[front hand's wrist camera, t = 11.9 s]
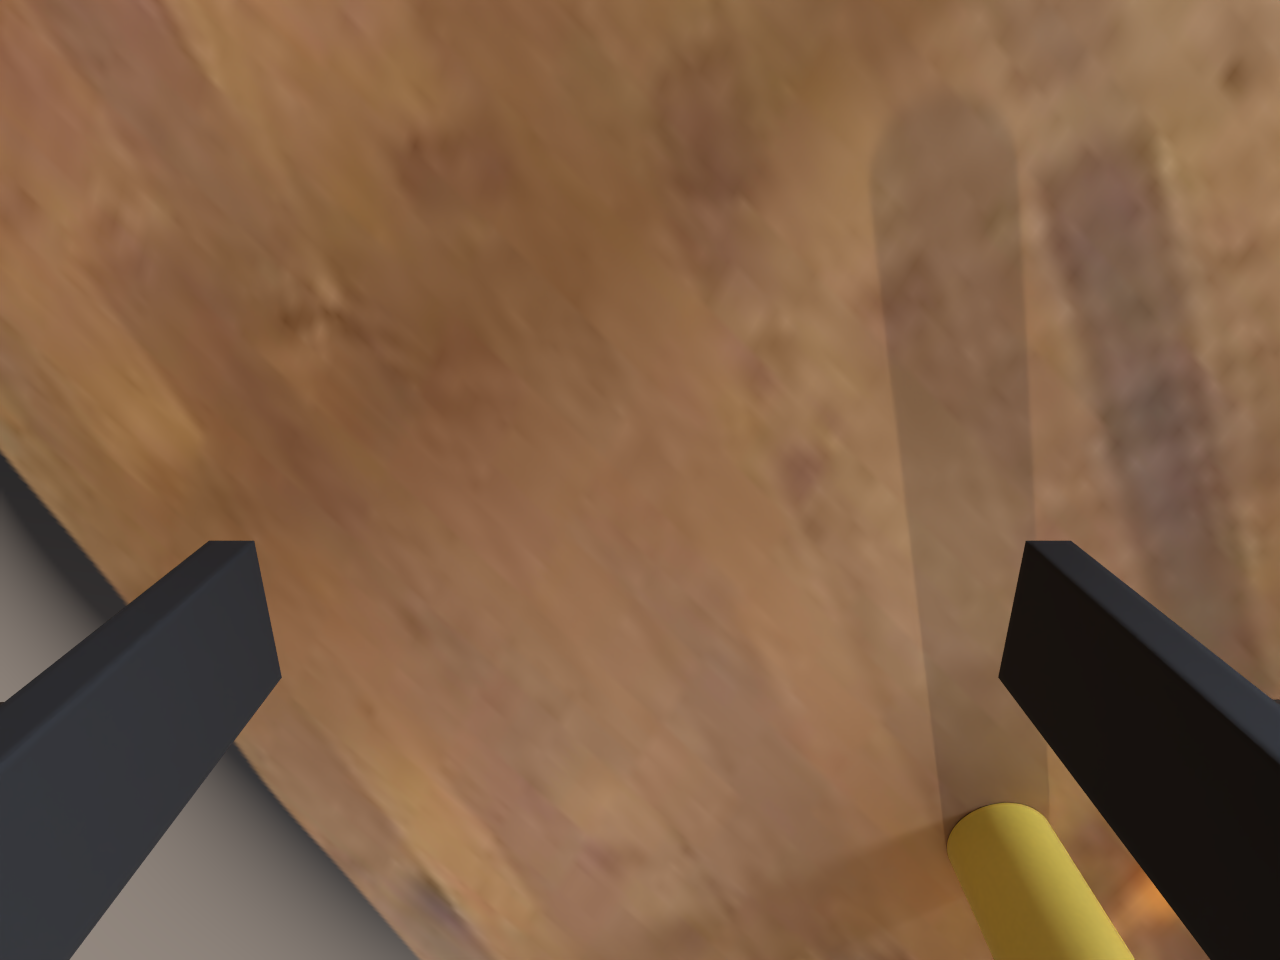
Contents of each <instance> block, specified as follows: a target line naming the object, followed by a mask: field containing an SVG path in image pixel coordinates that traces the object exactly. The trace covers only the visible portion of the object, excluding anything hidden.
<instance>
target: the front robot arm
mask: <svg viewBox="0 0 1280 960" xmlns="http://www.w3.org/2000/svg"><path fill="white" fill-rule="evenodd" d="M281 678H282V677H281V672H280V667H279V662H278V657H277V652H276V647H275V642H274V637H273V632H272V627H271V622H270V617H269V612H268V607H267V602H266V597H265V592H264V587H263V582H262V577H261V572H260V567H259V563H258V558H257V553H256V548H255V543H254V541H208V542H207V543H206V544H204V545H203V546H202V547H201V548H199V549H198V550H197V551H196V552H194V553H193V554H192V555H191V556H189V557H188V558H187V559H185V560H184V561H183V562H182V563H180V564H179V565H178V566H177V567H175V568H174V569H173V570H171V571H170V572H169V573H168V574H166V575H165V576H164V577H163V578H161V579H160V580H159V581H158V582H156V583H155V584H154V585H152V586H151V587H150V588H149V589H147V590H146V591H145V592H144V593H142V594H141V595H140V596H139V597H137V598H136V599H135V600H133V601H132V602H131V603H130V604H128V605H127V606H126V607H125V608H123V609H122V610H121V611H120V612H118V613H117V614H116V615H114V616H113V617H112V618H111V619H109V620H108V621H107V622H106V623H104V624H103V625H102V626H101V627H99V628H98V629H97V630H95V631H94V632H93V633H92V634H90V635H89V636H88V637H87V638H85V639H84V640H83V641H82V642H80V643H79V644H78V645H76V646H75V647H74V648H73V649H71V650H70V651H69V652H68V653H66V654H65V655H64V656H62V657H61V658H60V659H59V660H57V661H56V662H55V663H54V664H52V665H51V666H50V667H49V668H47V669H46V670H45V671H43V672H42V673H41V674H40V675H38V676H37V677H36V678H35V679H33V680H32V681H31V682H30V683H28V684H27V685H26V686H24V687H23V688H22V689H21V690H19V691H18V692H17V693H16V694H14V695H13V696H12V697H11V698H9V699H8V700H7V701H5V702H0V960H70V958H71V957H72V956H73V954H74V953H75V951H76V950H77V949H78V948H79V946H80V945H81V944H82V942H83V941H84V939H85V938H86V937H87V936H88V934H89V933H90V932H91V930H92V929H93V928H94V926H95V925H96V924H97V922H98V921H99V920H100V918H101V917H102V915H103V914H104V913H105V912H106V910H107V909H108V908H109V906H110V905H111V904H112V902H113V901H114V900H115V898H116V897H117V896H118V894H119V893H120V892H121V890H122V889H123V888H124V886H125V885H126V884H127V882H128V881H129V880H130V878H131V877H132V876H133V874H134V873H135V872H136V870H137V869H138V868H139V866H140V865H141V864H142V862H143V861H144V860H145V858H146V857H147V856H148V854H149V853H150V852H151V850H152V849H153V848H154V846H155V845H156V844H157V842H158V841H159V840H160V839H161V837H162V836H163V834H164V833H165V832H166V831H167V829H168V828H169V827H170V825H171V824H172V823H173V821H174V820H175V818H176V817H177V816H178V815H179V813H180V812H181V811H182V809H183V808H184V807H185V805H186V804H187V803H188V801H189V800H190V799H191V797H192V796H193V795H194V793H195V792H196V791H197V789H198V788H199V787H200V785H201V784H202V783H203V781H204V780H205V779H206V777H207V776H208V775H209V773H210V772H211V771H212V769H213V768H214V767H215V765H216V764H217V763H218V761H219V760H220V759H221V757H222V756H223V755H224V753H225V752H226V751H227V749H228V748H229V747H230V745H231V744H232V743H233V741H234V740H235V739H236V737H237V736H238V735H239V733H240V732H241V731H242V729H243V728H244V727H245V725H246V724H247V723H248V721H249V720H250V719H251V718H252V716H253V715H254V714H255V712H256V711H257V710H258V708H259V707H260V706H261V704H262V703H263V702H264V700H265V699H266V698H267V696H268V695H269V694H270V692H271V691H272V690H273V688H274V687H275V686H276V684H277V683H278V682H279V680H280V679H281ZM998 678H999V679H1000V680H1001V682H1002V683H1003V684H1004V686H1005V687H1006V688H1007V690H1008V691H1009V692H1010V694H1011V695H1012V696H1013V698H1014V699H1015V700H1016V702H1017V703H1018V704H1019V706H1020V707H1021V708H1022V710H1023V711H1024V712H1025V714H1026V715H1027V716H1028V718H1029V719H1030V720H1031V721H1032V723H1033V724H1034V725H1035V727H1036V728H1037V729H1038V731H1039V732H1040V733H1041V735H1042V736H1043V737H1044V739H1045V740H1046V741H1047V743H1048V744H1049V745H1050V747H1051V748H1052V749H1053V751H1054V752H1055V753H1056V755H1057V756H1058V757H1059V759H1060V760H1061V761H1062V763H1063V764H1064V765H1065V767H1066V768H1067V769H1068V771H1069V772H1070V773H1071V775H1072V776H1073V777H1074V779H1075V780H1076V781H1077V783H1078V784H1079V785H1080V787H1081V788H1082V789H1083V791H1084V792H1085V793H1086V795H1087V796H1088V797H1089V799H1090V800H1091V801H1092V803H1093V804H1094V805H1095V807H1096V808H1097V809H1098V811H1099V812H1100V813H1101V815H1102V816H1103V817H1104V819H1105V820H1106V821H1107V823H1108V824H1109V825H1110V827H1111V828H1112V829H1113V831H1114V832H1115V833H1116V835H1117V836H1118V837H1119V839H1120V840H1121V841H1122V843H1123V844H1124V845H1125V846H1126V848H1127V849H1128V850H1129V852H1130V853H1131V854H1132V856H1133V857H1134V858H1135V860H1136V861H1137V862H1138V864H1139V865H1140V866H1141V868H1142V869H1143V870H1144V872H1145V873H1146V874H1147V876H1148V877H1149V878H1150V880H1151V881H1152V882H1153V884H1154V885H1155V886H1156V888H1157V889H1158V890H1159V892H1160V893H1161V894H1162V896H1163V897H1164V898H1165V900H1166V901H1167V902H1168V904H1169V905H1170V906H1171V908H1172V909H1173V910H1174V912H1175V913H1176V914H1177V916H1178V917H1179V918H1180V920H1181V921H1182V922H1183V924H1184V925H1185V926H1186V928H1187V929H1188V930H1189V932H1190V933H1191V934H1192V936H1193V937H1194V938H1195V940H1196V941H1197V942H1198V944H1199V945H1200V946H1201V948H1202V949H1203V950H1204V952H1205V953H1206V954H1207V956H1208V957H1209V958H1210V960H1280V700H1272V699H1271V698H1269V697H1268V696H1267V695H1266V694H1264V693H1263V692H1262V691H1261V690H1259V689H1258V688H1257V687H1256V686H1254V685H1253V684H1252V683H1250V682H1249V681H1248V680H1247V679H1245V678H1244V677H1243V676H1242V675H1240V674H1239V673H1238V672H1237V671H1235V670H1234V669H1233V668H1231V667H1230V666H1229V665H1228V664H1226V663H1225V662H1224V661H1223V660H1221V659H1220V658H1219V657H1218V656H1216V655H1215V654H1214V653H1212V652H1211V651H1210V650H1209V649H1207V648H1206V647H1205V646H1204V645H1202V644H1201V643H1200V642H1199V641H1197V640H1196V639H1195V638H1193V637H1192V636H1191V635H1190V634H1188V633H1187V632H1186V631H1185V630H1183V629H1182V628H1181V627H1179V626H1178V625H1177V624H1176V623H1174V622H1173V621H1172V620H1171V619H1169V618H1168V617H1167V616H1166V615H1164V614H1163V613H1162V612H1160V611H1159V610H1158V609H1157V608H1155V607H1154V606H1153V605H1152V604H1150V603H1149V602H1148V601H1147V600H1145V599H1144V598H1143V597H1141V596H1140V595H1139V594H1138V593H1136V592H1135V591H1134V590H1133V589H1131V588H1130V587H1129V586H1128V585H1126V584H1125V583H1124V582H1122V581H1121V580H1120V579H1119V578H1117V577H1116V576H1115V575H1114V574H1112V573H1111V572H1110V571H1109V570H1107V569H1106V568H1105V567H1103V566H1102V565H1101V564H1100V563H1098V562H1097V561H1096V560H1095V559H1093V558H1092V557H1091V556H1089V555H1088V554H1087V553H1086V552H1084V551H1083V550H1082V549H1081V548H1079V547H1078V546H1077V545H1076V544H1074V543H1073V542H1072V541H1026V543H1025V548H1024V553H1023V558H1022V563H1021V567H1020V572H1019V577H1018V582H1017V587H1016V592H1015V597H1014V602H1013V607H1012V612H1011V617H1010V622H1009V627H1008V632H1007V637H1006V642H1005V647H1004V652H1003V657H1002V662H1001V667H1000V672H999V677H998Z"/></svg>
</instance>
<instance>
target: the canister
mask: <svg viewBox="0 0 1280 960" xmlns="http://www.w3.org/2000/svg"><path fill="white" fill-rule="evenodd" d="M947 854H948V857H949V860H950V862H951V864H952V867H953V869H954V871H955V873H956V876H957V878H958V880H959V882H960V885H961V887H962V889H963V891H964V894H965V896H966V898H967V900H968V902H969V905H970V907H971V909H972V911H973V914H974V916H975V918H976V920H977V923H978V925H979V927H980V929H981V932H982V934H983V936H984V938H985V940H986V943H987V945H988V947H989V949H990V952H991V954H992V956H993V958H994V960H1135V959H1134V957H1133V956H1132V954H1131V953H1130V951H1129V949H1128V948H1127V946H1126V945H1125V943H1124V941H1123V940H1122V938H1121V937H1120V935H1119V933H1118V932H1117V930H1116V929H1115V927H1114V926H1113V924H1112V922H1111V921H1110V919H1109V918H1108V916H1107V914H1106V913H1105V911H1104V910H1103V908H1102V907H1101V905H1100V903H1099V902H1098V900H1097V899H1096V897H1095V895H1094V894H1093V892H1092V891H1091V889H1090V888H1089V886H1088V884H1087V883H1086V881H1085V880H1084V878H1083V876H1082V875H1081V873H1080V872H1079V870H1078V869H1077V867H1076V865H1075V864H1074V862H1073V861H1072V859H1071V857H1070V856H1069V854H1068V853H1067V851H1066V850H1065V848H1064V846H1063V845H1062V843H1061V842H1060V840H1059V838H1058V837H1057V835H1056V834H1055V832H1054V830H1053V829H1052V827H1051V826H1050V824H1049V823H1048V821H1047V820H1046V818H1045V817H1044V816H1043V815H1042V814H1041V813H1039V812H1038V811H1036V810H1035V809H1033V808H1030V807H1028V806H1025V805H1021V804H1016V803H998V804H992V805H988V806H985V807H982V808H979V809H977V810H975V811H973V812H971V813H969V814H968V815H967V816H965V817H964V818H963V819H961V820H960V821H959V822H958V823H957V825H956V826H955V827H954V828H953V830H952V831H951V833H950V835H949V838H948V842H947Z"/></svg>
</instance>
